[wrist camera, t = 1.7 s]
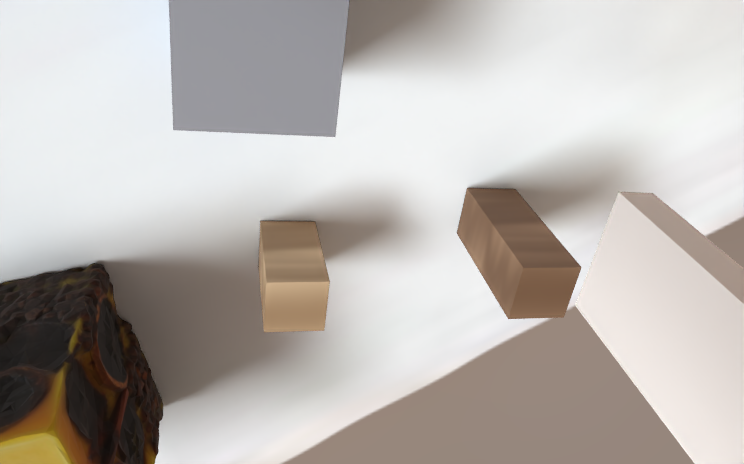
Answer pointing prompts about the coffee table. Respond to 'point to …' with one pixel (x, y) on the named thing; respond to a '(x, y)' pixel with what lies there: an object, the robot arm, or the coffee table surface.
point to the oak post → (292, 277)
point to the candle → (73, 375)
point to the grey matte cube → (257, 65)
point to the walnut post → (517, 254)
